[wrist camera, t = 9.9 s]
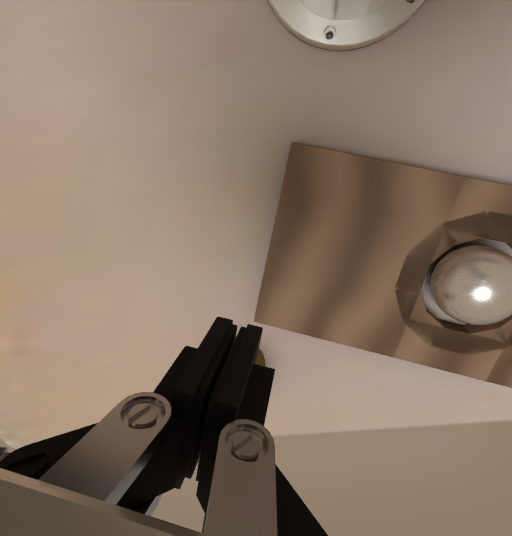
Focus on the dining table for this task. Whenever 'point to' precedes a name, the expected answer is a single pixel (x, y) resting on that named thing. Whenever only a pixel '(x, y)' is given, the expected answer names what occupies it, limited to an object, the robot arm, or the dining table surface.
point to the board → (380, 258)
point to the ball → (474, 285)
